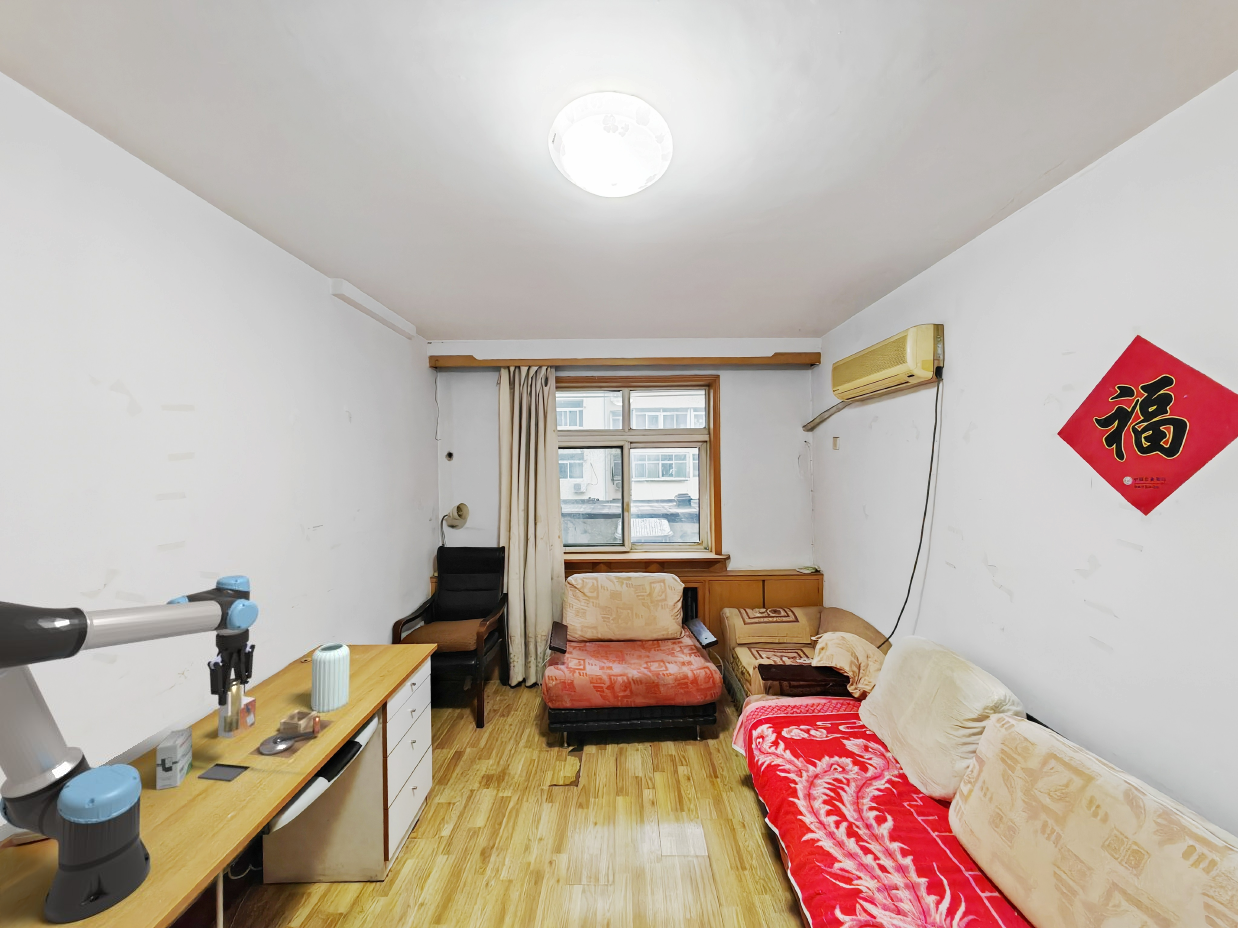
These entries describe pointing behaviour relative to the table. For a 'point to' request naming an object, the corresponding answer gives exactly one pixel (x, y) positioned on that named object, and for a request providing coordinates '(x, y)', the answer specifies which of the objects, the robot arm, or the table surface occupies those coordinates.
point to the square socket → (297, 721)
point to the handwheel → (286, 739)
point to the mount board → (296, 742)
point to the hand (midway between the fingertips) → (231, 710)
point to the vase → (330, 677)
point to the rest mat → (223, 772)
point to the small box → (245, 719)
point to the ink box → (174, 758)
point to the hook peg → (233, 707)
